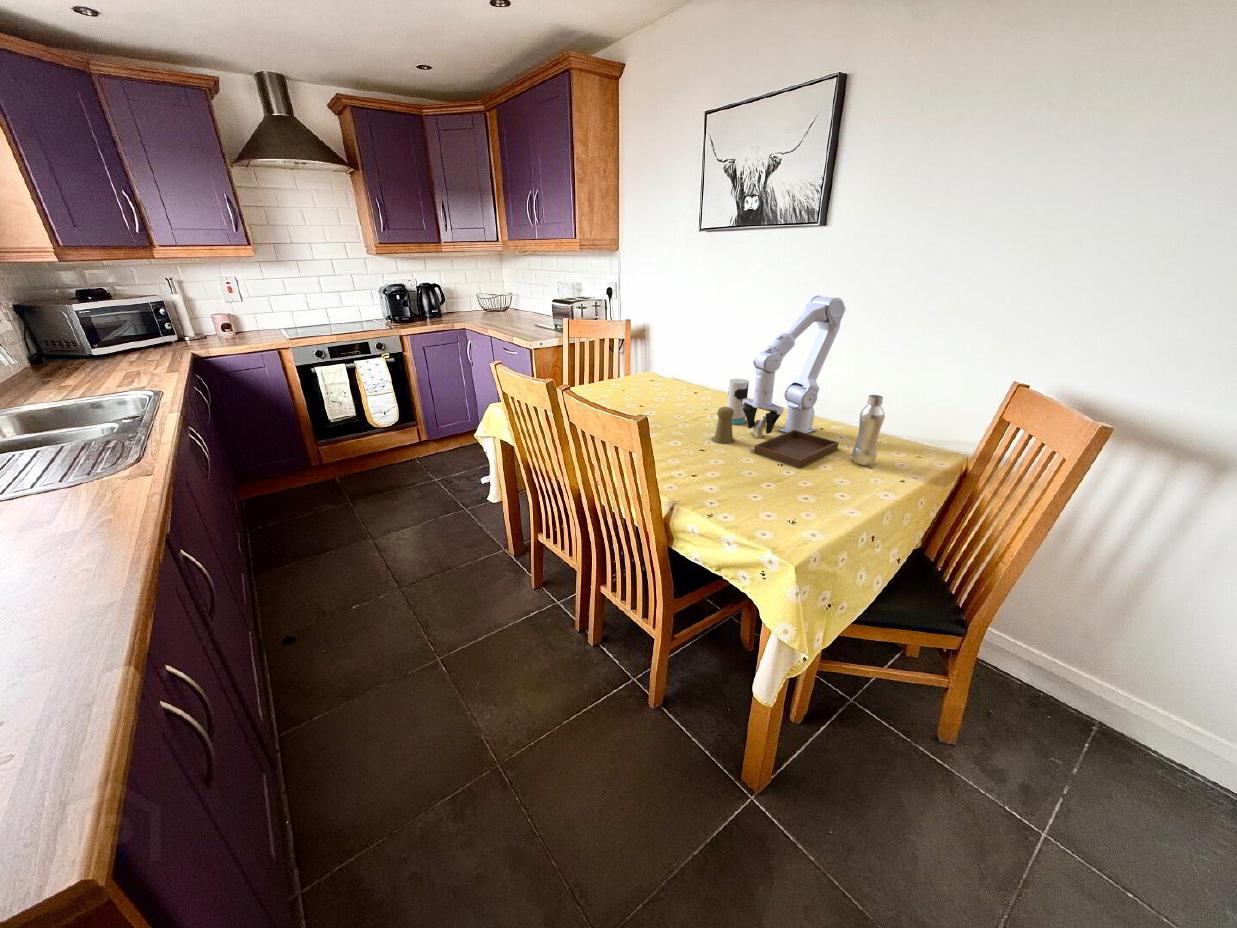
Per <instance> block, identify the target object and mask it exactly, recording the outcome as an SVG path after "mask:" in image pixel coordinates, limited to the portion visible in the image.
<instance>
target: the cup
mask: <svg viewBox="0 0 1237 928" xmlns="http://www.w3.org/2000/svg"><path fill="white" fill-rule="evenodd" d="M749 383H750V380H749V379H745V378H732V379H731V378H730V379H729V381H728V393H727V403H726V404H727V406H726V407H730V408H732V409H733V411H734V415H733V417H732V425H735V426H738V425H739V426H740V425H744V424H745V423H746V415H745V413H744V411H743V408H744V407H745V406H746V405H742V399H745V398H747V399H748V395H749Z"/></svg>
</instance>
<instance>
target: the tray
mask: <svg viewBox="0 0 1237 928" xmlns="http://www.w3.org/2000/svg"><path fill="white" fill-rule="evenodd" d="M838 449H839V441H836V440H832V439H828V438H825V437H821V436H817V435H814V434H811V433H804V432H800V431H797V430H792V431H790V432H787V433H786V432H784V433H782V434H779V435H777V436H774V437H772V438H770V439H767V440H765V441H763V442H760V443H757V444H755V445H754V448H753V453H754V454H757V455H759V456H763V457H765V458H769V459H771V460H774V461H776V462H779V463H782V464H783V463H784V464H786V465H788V466H792V467H794V468H797V469H800V468H802V467H805V466H806V465H807V466H808V464H811V463H813V462H814V461H817V460H819V459H821V458H823V457H825V456H827V455H829V454H831V453H834V452H835V451H837V450H838Z"/></svg>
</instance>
